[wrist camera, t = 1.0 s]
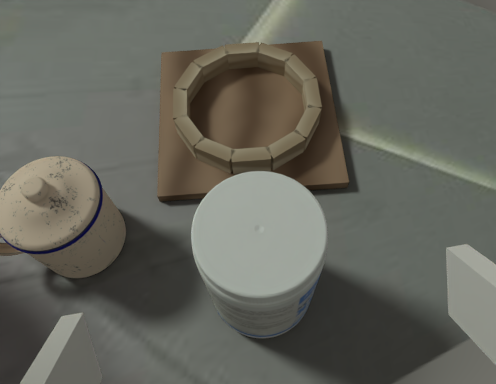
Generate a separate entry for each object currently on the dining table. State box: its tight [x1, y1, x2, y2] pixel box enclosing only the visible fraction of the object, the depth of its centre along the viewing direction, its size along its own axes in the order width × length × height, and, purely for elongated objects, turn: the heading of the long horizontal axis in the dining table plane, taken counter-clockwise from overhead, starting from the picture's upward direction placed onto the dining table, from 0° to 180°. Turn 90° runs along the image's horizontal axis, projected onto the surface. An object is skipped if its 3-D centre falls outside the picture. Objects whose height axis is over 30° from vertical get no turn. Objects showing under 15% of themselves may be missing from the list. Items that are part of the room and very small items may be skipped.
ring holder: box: [157, 41, 349, 201], centre depth 50 cm, size 20×20×4 cm
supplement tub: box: [191, 171, 328, 338], centre depth 36 cm, size 10×10×15 cm
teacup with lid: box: [0, 156, 126, 278], centre depth 40 cm, size 12×9×12 cm
